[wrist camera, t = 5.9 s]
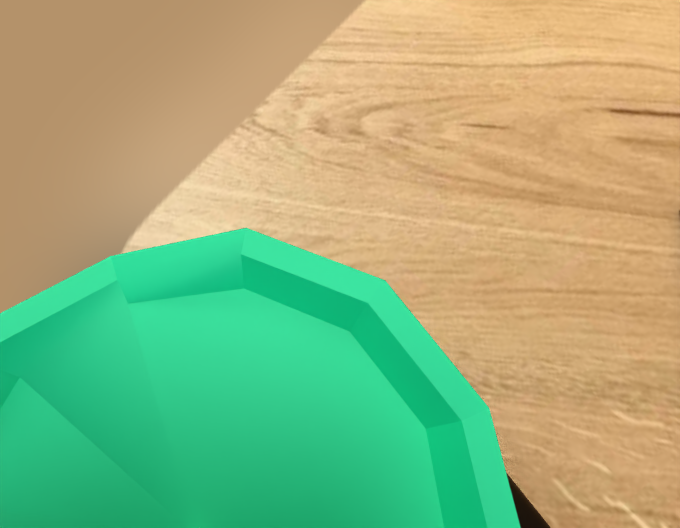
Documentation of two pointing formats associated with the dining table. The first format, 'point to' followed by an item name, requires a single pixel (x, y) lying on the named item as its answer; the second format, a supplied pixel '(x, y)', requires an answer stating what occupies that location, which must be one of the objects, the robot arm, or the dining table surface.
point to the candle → (237, 400)
